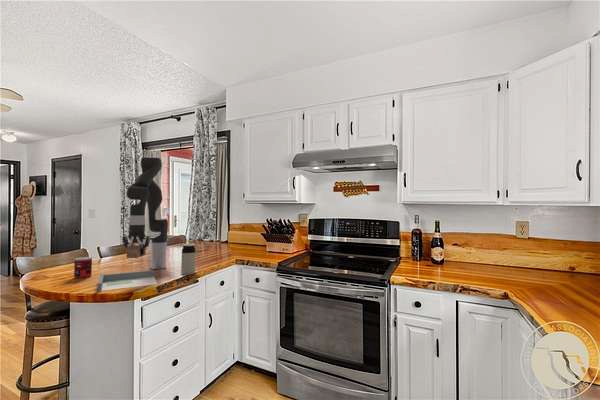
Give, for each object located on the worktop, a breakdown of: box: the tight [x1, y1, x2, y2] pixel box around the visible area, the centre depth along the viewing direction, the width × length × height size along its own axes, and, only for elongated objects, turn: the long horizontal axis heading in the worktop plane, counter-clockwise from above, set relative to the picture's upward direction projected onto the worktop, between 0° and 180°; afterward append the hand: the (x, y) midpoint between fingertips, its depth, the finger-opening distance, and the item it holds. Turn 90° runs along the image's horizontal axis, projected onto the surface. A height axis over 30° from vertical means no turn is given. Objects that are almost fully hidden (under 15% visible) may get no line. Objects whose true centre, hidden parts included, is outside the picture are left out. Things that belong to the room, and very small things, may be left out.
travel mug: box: [180, 243, 196, 276], centre depth 177 cm, size 8×8×18 cm
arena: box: [97, 269, 158, 292], centre depth 152 cm, size 20×26×4 cm
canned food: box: [73, 256, 93, 280], centre depth 163 cm, size 8×8×11 cm
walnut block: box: [126, 243, 147, 259], centre depth 152 cm, size 10×5×6 cm, turn 4°
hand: (136, 255), depth 152 cm, fingers closed on walnut block, 5 cm apart
